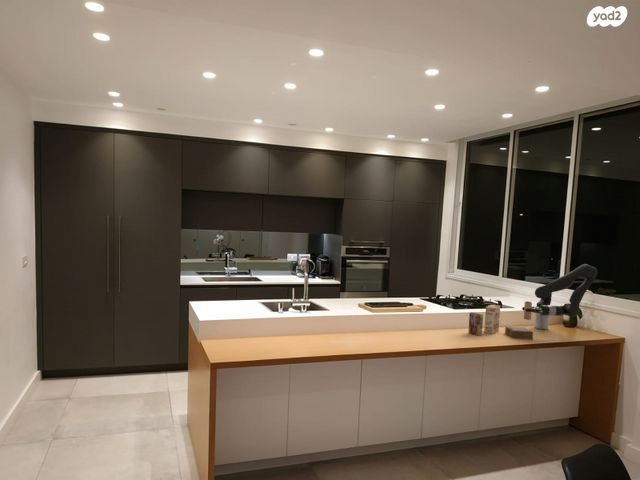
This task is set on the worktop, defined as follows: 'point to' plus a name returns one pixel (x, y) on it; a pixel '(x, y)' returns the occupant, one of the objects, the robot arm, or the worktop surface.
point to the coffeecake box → (492, 319)
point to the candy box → (475, 323)
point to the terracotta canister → (527, 314)
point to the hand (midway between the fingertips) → (524, 309)
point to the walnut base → (519, 332)
